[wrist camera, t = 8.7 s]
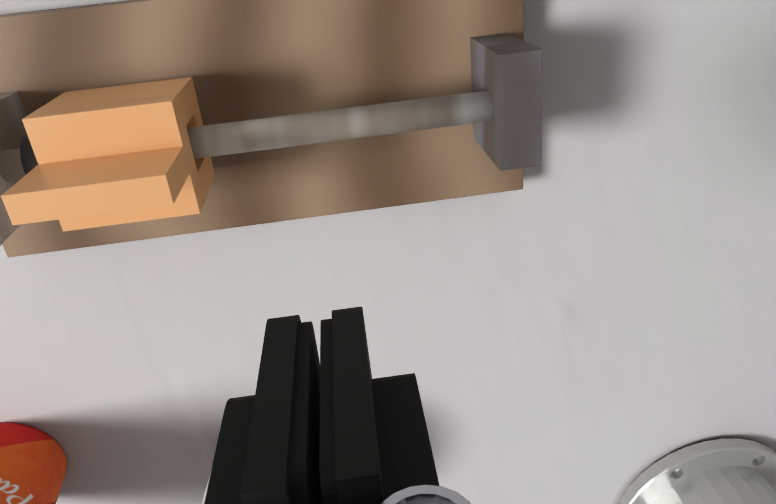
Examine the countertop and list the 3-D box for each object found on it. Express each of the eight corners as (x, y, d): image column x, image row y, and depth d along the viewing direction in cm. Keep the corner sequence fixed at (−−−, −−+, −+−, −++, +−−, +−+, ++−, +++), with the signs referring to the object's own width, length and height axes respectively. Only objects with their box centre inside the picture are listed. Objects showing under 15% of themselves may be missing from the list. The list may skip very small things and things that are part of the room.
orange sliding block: (191, 76, 25) (151, 124, 19) (215, 175, 27) (185, 249, 21) (65, 91, 25) (-20, 145, 19) (97, 190, 27) (30, 270, 20)
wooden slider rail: (512, -43, 27) (579, -36, 20) (514, 178, 31) (569, 243, 25) (-68, 22, 25) (-202, 53, 19) (21, 243, 30) (-62, 330, 23)
